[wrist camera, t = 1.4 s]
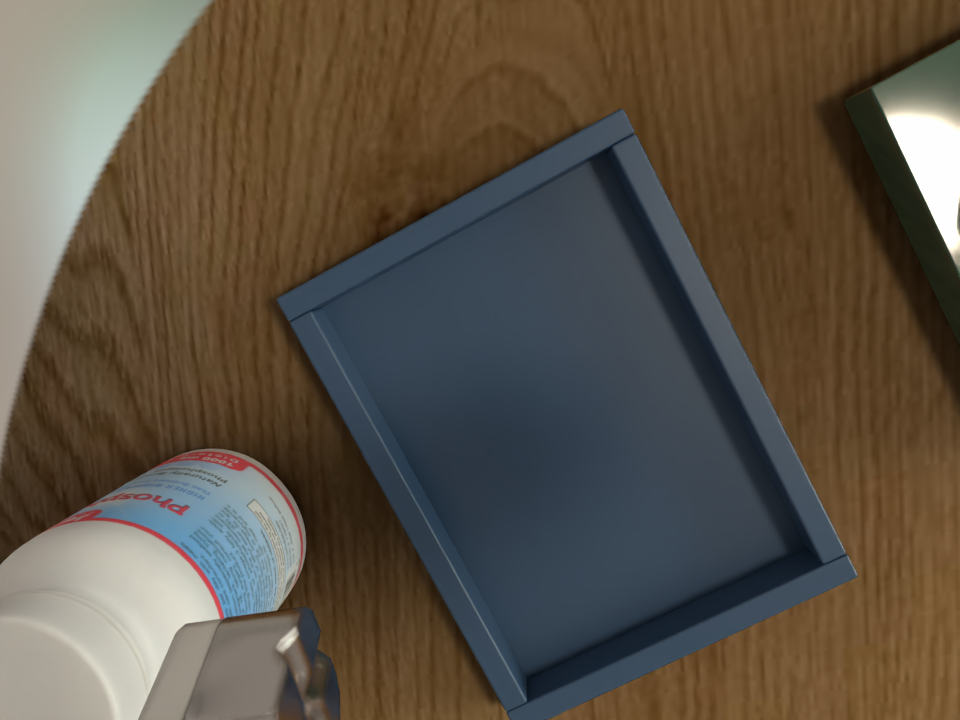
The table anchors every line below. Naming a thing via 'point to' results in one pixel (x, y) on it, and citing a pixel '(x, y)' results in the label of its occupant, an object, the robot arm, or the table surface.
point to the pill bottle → (141, 583)
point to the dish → (569, 425)
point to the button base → (920, 161)
